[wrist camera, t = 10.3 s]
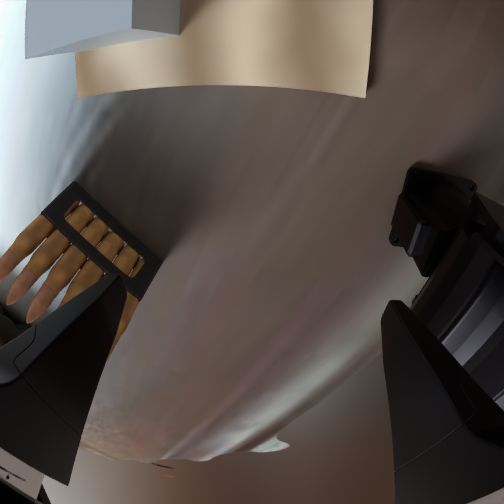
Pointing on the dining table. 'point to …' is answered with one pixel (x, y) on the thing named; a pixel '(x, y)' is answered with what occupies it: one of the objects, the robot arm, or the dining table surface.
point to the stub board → (243, 49)
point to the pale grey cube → (95, 24)
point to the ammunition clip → (78, 255)
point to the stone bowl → (9, 329)
